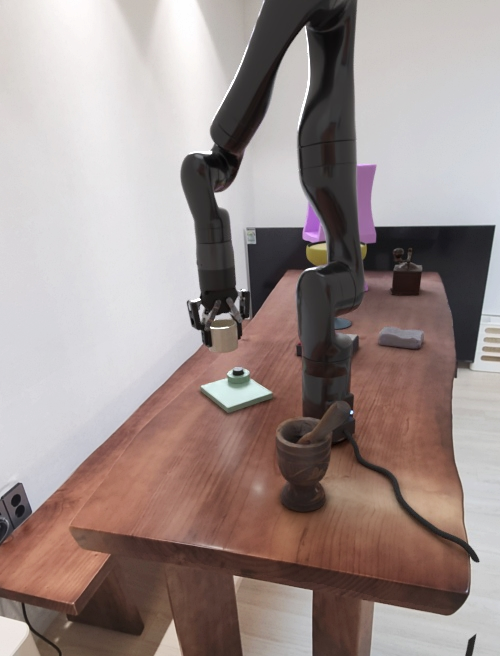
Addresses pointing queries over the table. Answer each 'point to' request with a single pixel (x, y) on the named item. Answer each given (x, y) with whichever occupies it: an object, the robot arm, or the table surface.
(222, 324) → the cup
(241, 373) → the button
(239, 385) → the scale
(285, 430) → the mortar and pestle
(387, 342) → the stone block
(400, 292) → the coffee grinder
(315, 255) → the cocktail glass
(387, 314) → the table surface
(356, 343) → the calculator
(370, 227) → the chair
